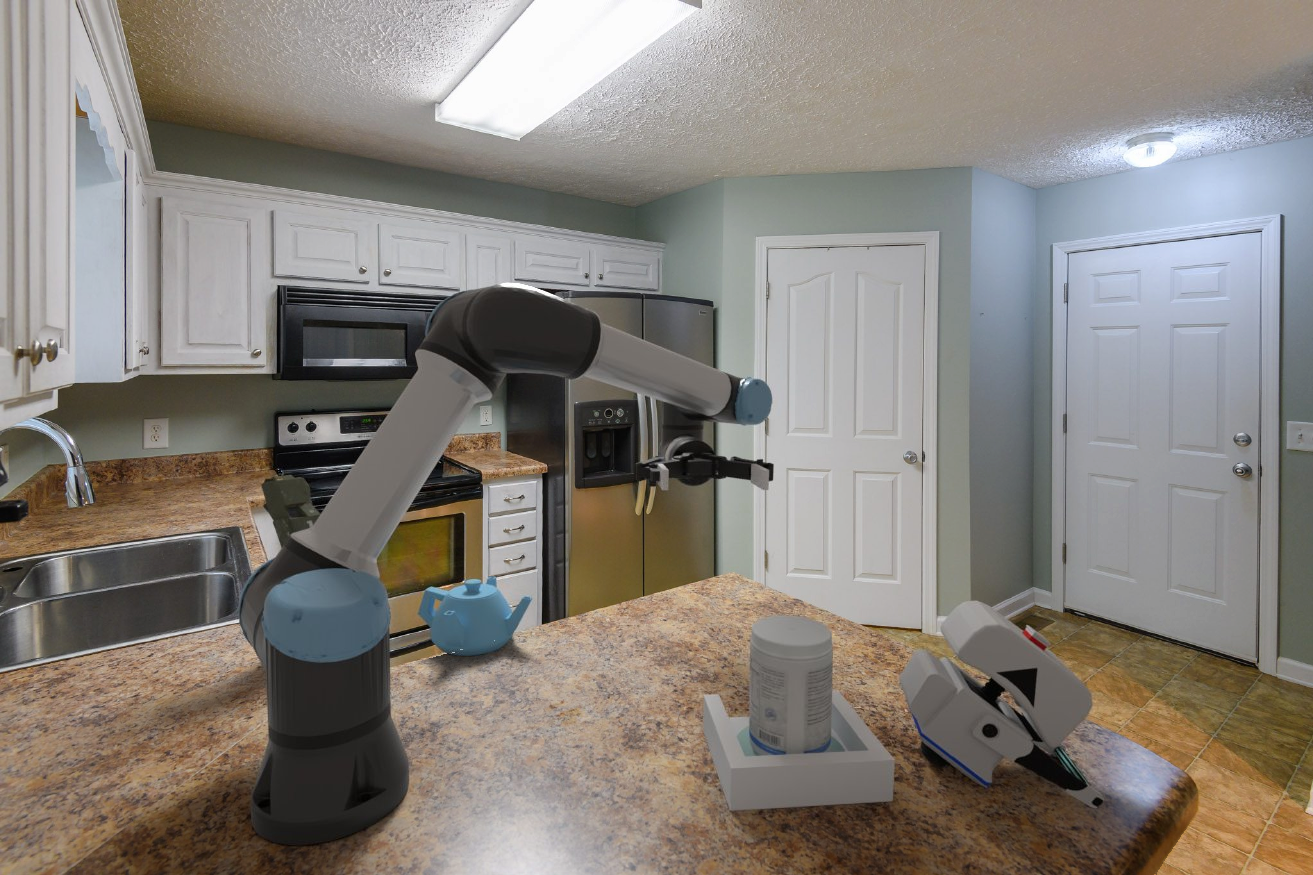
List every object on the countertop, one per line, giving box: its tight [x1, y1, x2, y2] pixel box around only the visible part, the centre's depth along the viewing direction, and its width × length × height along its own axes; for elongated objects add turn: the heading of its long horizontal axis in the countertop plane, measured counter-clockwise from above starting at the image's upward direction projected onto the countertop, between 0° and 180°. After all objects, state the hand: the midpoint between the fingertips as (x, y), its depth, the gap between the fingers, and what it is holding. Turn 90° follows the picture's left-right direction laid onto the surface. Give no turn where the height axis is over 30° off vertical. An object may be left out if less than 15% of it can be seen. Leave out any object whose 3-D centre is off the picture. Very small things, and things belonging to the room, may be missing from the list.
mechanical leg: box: [260, 474, 321, 549], centre depth 106 cm, size 14×7×30 cm, turn 57°
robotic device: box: [898, 600, 1105, 809], centre depth 76 cm, size 10×21×20 cm
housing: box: [702, 689, 896, 812], centre depth 77 cm, size 18×16×5 cm
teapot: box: [417, 576, 533, 657], centre depth 111 cm, size 15×15×11 cm
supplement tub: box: [748, 614, 834, 756], centre depth 76 cm, size 10×10×15 cm
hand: (716, 480), depth 86 cm, fingers open, 13 cm apart
